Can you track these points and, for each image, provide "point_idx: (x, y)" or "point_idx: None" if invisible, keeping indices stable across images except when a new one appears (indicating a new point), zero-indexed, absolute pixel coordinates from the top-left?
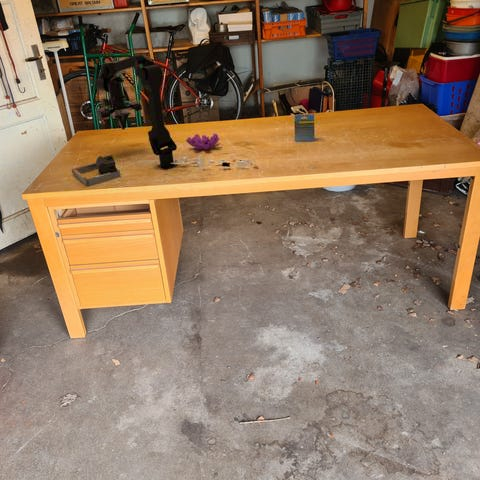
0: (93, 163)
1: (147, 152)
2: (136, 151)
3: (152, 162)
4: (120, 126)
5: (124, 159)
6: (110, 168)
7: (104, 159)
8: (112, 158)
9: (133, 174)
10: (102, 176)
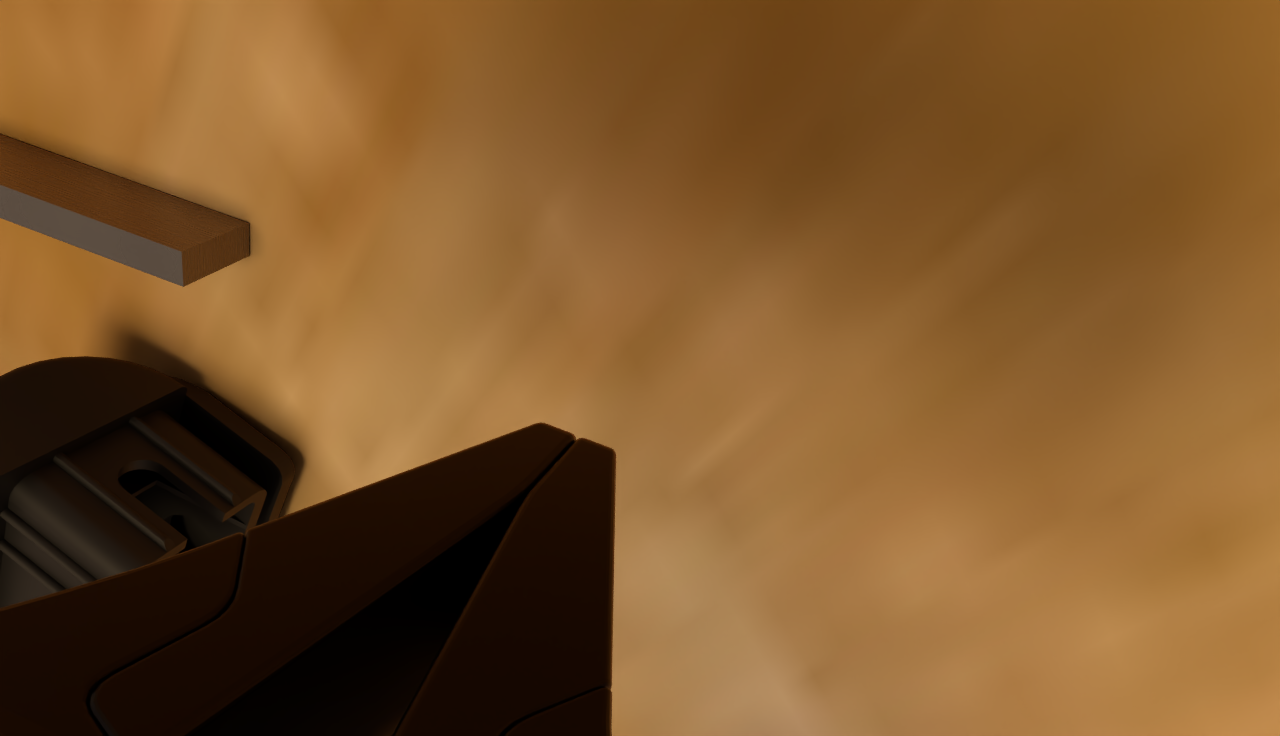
0: (35, 197)
1: (1092, 402)
2: (1067, 128)
3: (726, 723)
4: (445, 462)
5: (594, 273)
6: (184, 512)
7: (15, 585)
8: (174, 546)
9: None
10: None
